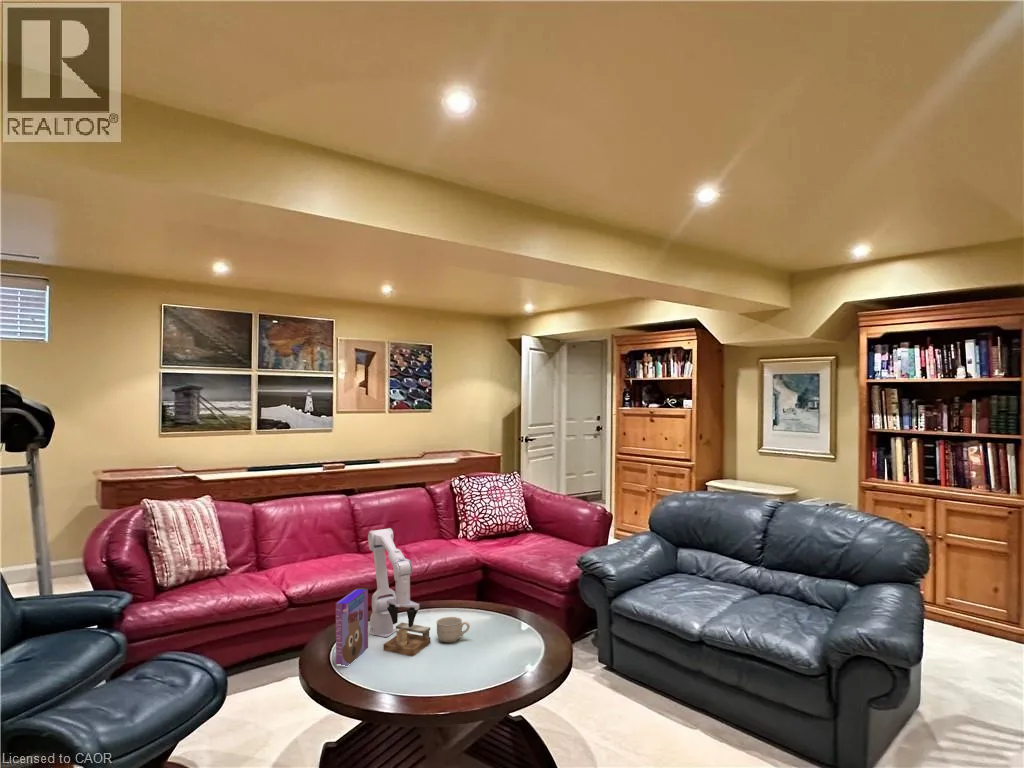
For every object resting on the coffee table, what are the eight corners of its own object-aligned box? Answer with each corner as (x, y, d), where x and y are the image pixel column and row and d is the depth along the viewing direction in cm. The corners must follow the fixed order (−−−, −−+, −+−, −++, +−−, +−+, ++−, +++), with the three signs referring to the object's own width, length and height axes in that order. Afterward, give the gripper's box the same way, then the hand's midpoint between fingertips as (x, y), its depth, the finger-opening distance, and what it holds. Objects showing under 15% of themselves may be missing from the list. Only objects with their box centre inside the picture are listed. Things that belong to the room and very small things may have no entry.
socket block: (383, 650, 231) (383, 634, 231) (402, 637, 243) (401, 622, 243) (412, 656, 226) (412, 639, 226) (430, 643, 238) (430, 627, 238)
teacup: (432, 643, 238) (432, 623, 238) (443, 632, 248) (443, 614, 248) (463, 647, 233) (462, 627, 234) (473, 636, 244) (473, 617, 244)
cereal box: (347, 667, 217) (347, 603, 218) (336, 666, 218) (335, 602, 219) (368, 647, 234) (367, 588, 235) (357, 646, 235) (357, 587, 236)
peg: (396, 651, 230) (396, 631, 230) (400, 648, 233) (400, 628, 233) (402, 652, 229) (402, 632, 229) (407, 649, 232) (407, 629, 232)
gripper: (382, 591, 232) (382, 625, 232) (412, 596, 226) (412, 631, 226) (392, 586, 238) (392, 619, 238) (422, 591, 232) (422, 624, 232)
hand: (402, 624), depth 232 cm, fingers open, 7 cm apart
